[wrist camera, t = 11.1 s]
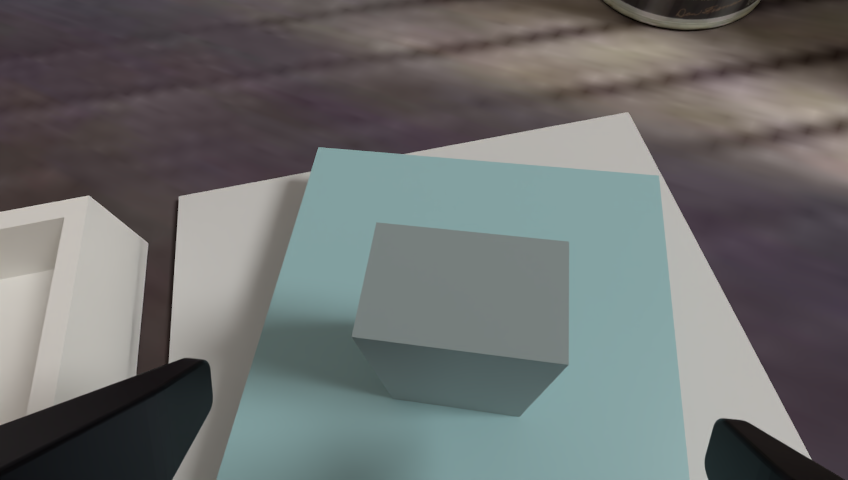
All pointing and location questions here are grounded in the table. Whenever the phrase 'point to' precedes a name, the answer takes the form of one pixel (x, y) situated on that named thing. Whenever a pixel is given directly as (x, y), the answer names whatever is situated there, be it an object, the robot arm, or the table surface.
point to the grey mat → (553, 146)
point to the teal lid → (466, 329)
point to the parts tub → (66, 303)
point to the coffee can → (684, 12)
